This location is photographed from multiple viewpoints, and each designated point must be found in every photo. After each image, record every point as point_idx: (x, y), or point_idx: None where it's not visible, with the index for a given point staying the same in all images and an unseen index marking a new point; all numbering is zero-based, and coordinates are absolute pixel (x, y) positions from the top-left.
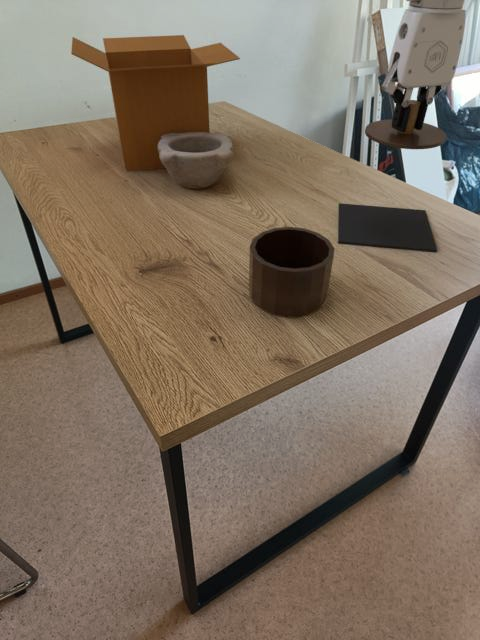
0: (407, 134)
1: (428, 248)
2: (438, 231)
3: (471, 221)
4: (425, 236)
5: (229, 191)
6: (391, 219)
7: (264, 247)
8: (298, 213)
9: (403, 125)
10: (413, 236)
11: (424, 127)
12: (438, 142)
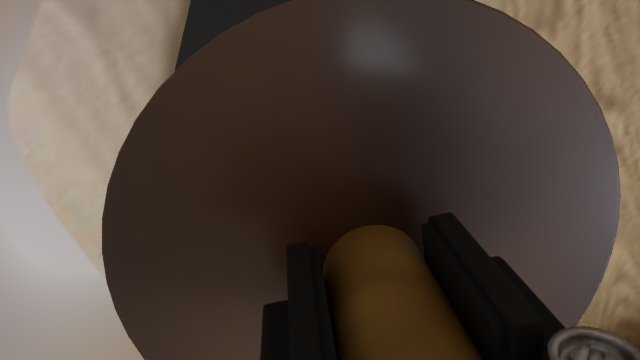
0: (386, 217)
1: None
2: (151, 60)
3: (15, 105)
4: (213, 22)
5: (616, 333)
6: None
7: None
8: None
9: (465, 236)
10: None
11: (211, 322)
12: (239, 34)
